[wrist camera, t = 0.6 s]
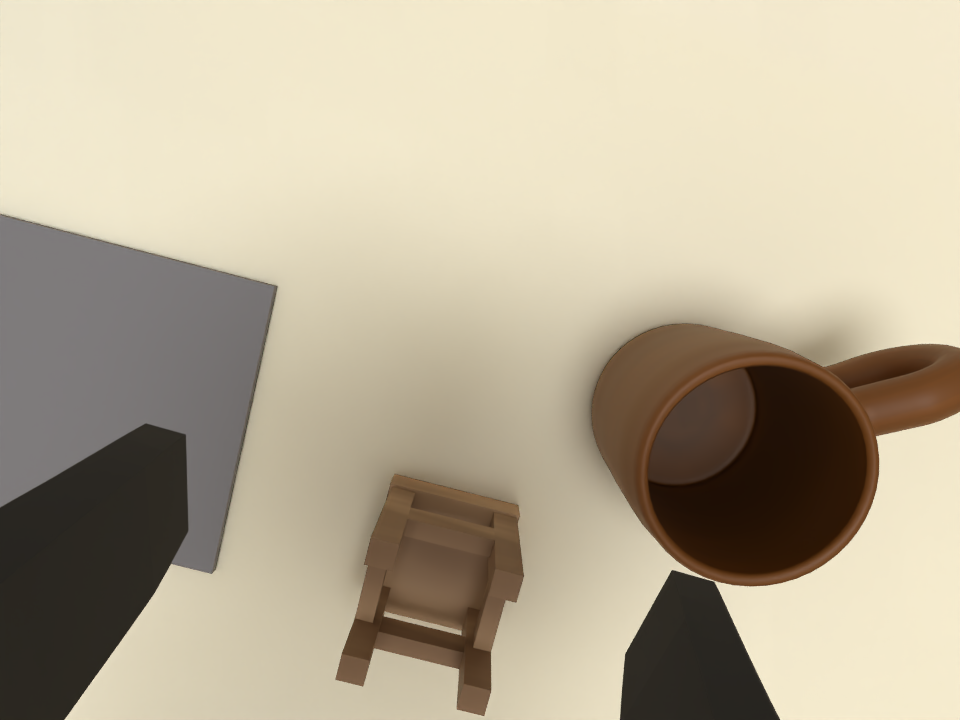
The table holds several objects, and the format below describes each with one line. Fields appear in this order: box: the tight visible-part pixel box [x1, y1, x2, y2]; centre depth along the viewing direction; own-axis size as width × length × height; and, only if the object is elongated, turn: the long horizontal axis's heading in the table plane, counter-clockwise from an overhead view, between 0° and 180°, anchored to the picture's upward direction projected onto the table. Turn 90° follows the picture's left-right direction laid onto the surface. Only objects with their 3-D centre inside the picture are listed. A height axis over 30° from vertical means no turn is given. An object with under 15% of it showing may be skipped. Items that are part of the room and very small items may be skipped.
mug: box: [592, 324, 960, 586], centre depth 26 cm, size 12×8×9 cm, turn 112°
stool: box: [335, 474, 524, 716], centre depth 28 cm, size 6×6×7 cm
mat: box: [0, 215, 277, 574], centre depth 30 cm, size 13×13×1 cm
